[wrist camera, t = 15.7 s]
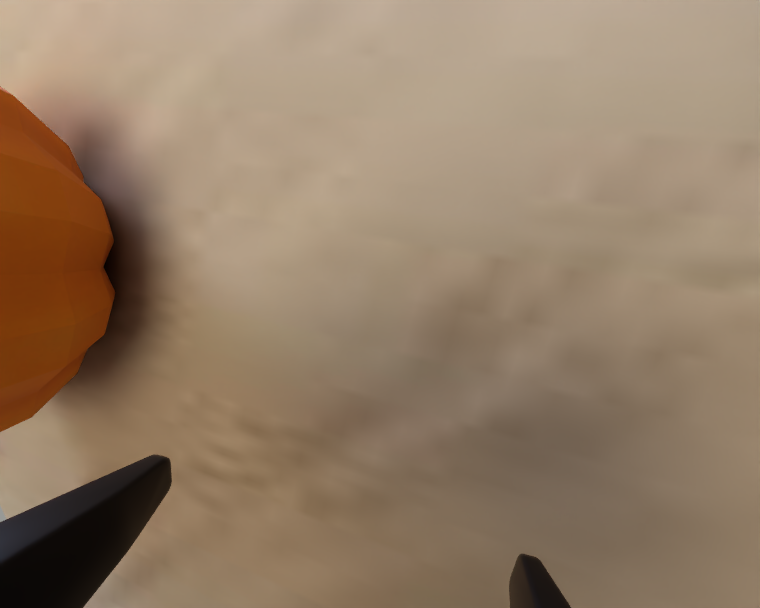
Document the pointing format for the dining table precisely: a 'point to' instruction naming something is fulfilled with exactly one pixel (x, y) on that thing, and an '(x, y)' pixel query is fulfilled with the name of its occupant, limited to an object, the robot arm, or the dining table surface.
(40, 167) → the decorative pumpkin
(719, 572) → the dining table surface
